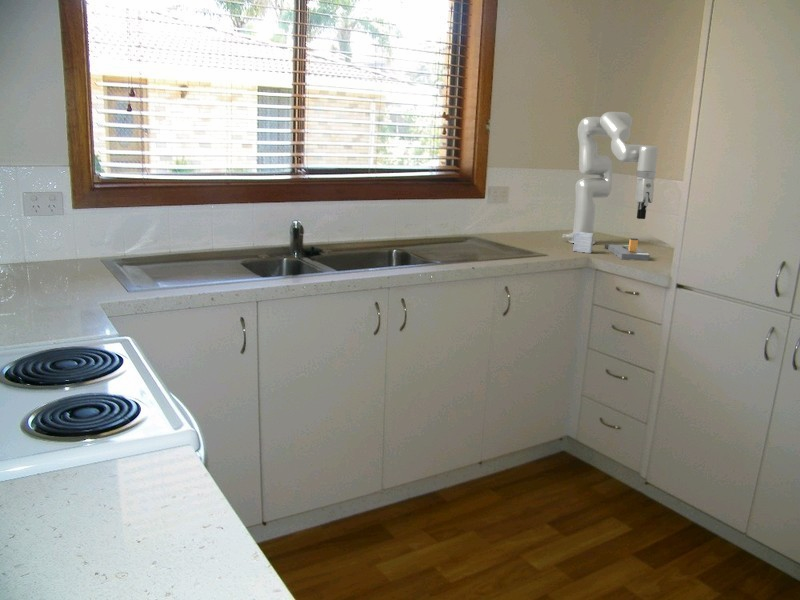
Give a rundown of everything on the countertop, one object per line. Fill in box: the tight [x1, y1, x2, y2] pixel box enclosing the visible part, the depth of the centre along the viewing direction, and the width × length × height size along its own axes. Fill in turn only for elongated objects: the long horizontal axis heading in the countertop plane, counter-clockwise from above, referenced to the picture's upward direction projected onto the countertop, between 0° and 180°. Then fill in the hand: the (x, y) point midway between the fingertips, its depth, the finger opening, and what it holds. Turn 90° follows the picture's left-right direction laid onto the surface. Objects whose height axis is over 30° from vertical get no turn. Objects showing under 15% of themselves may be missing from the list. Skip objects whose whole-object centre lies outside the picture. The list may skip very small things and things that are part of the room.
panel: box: [607, 244, 651, 261], centre depth 318 cm, size 12×24×3 cm, turn 178°
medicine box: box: [572, 232, 595, 254], centre depth 319 cm, size 8×4×9 cm, turn 65°
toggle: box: [628, 237, 639, 253], centre depth 311 cm, size 3×2×8 cm
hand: (640, 218), depth 302 cm, fingers closed
